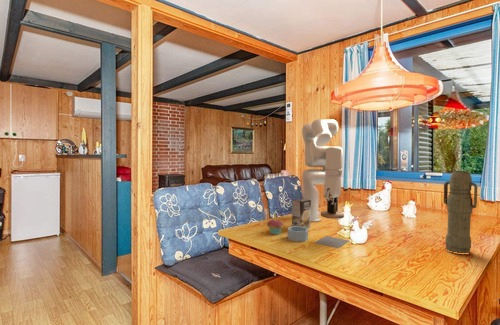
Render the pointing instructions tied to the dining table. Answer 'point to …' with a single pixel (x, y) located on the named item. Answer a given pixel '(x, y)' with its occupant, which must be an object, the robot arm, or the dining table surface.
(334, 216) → the lid
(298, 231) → the bowl
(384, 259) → the dining table surface
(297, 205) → the coffee box
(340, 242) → the mat
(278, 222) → the cupcake
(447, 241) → the thermos
